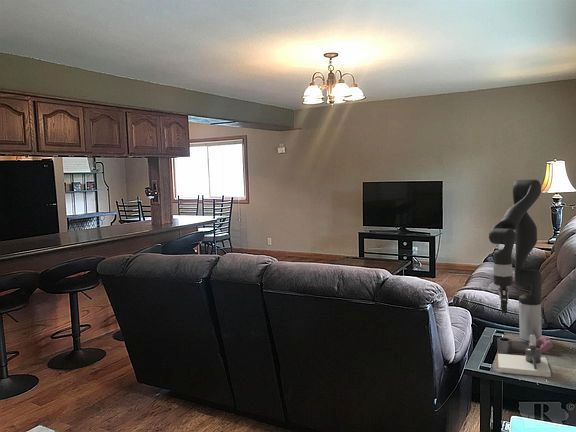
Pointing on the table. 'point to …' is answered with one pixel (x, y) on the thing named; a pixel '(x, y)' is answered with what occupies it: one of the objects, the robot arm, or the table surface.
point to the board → (522, 365)
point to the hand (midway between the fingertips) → (503, 310)
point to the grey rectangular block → (511, 346)
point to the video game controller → (544, 343)
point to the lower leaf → (533, 352)
